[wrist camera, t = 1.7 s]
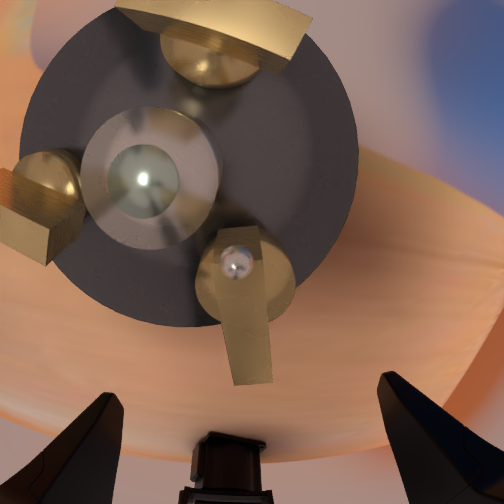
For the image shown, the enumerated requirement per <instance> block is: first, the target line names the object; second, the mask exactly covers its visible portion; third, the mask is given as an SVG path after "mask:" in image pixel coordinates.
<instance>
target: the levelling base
mask: <svg viewBox="0 0 504 504" xmlns="http://www.w3.org/2000/svg"><path fill="white" fill-rule="evenodd" d="M312 19H313V18H311V17H309V16H307V15H305V14H303V13H301V12H299V11H296V10H294V9H292V8H290V7H287V6H285V5H283V4H280V3H278V2H275V1H272V0H117V2H116V3H115V5H114V8H112V9H110V10H108V11H107V12H105V13H103V14H101V15H100V16H98V17H97V18H96V19H94V20H93V21H91V22H90V23H88V24H87V25H86V26H84V27H83V28H82V29H81V30H80V31H79V32H78V33H76V34H75V35H74V36H73V37H72V38H71V39H70V40H69V41H68V42H67V43H66V44H65V45H64V46H63V47H62V49H61V50H60V51H59V52H58V53H57V55H56V56H55V57H54V58H53V60H52V61H51V62H50V64H49V66H48V67H47V69H46V70H45V72H44V73H43V75H42V76H41V78H40V80H39V82H38V84H37V86H36V88H35V91H34V93H33V95H32V97H31V100H30V103H29V106H28V109H27V112H26V115H25V118H24V123H23V128H22V133H21V139H20V153H19V162H18V163H17V165H16V166H15V168H14V169H13V171H10V170H7V169H5V168H1V169H0V242H2V243H4V244H5V245H7V246H9V247H11V248H12V249H14V250H16V251H18V252H20V253H21V254H23V255H25V256H27V257H29V258H31V259H32V260H34V261H36V262H38V263H40V264H42V265H44V266H47V265H48V264H49V263H50V262H51V261H52V260H53V262H54V263H55V264H56V265H57V267H58V268H59V269H60V270H61V271H62V272H63V273H64V274H65V276H66V277H67V278H68V279H69V280H70V281H71V282H72V283H73V284H75V285H76V286H77V287H78V288H79V289H81V290H82V291H83V292H84V293H86V294H87V295H88V296H90V297H91V298H93V299H94V300H96V301H97V302H99V303H101V304H102V305H104V306H106V307H108V308H110V309H112V310H114V311H116V312H118V313H120V314H123V315H125V316H128V317H131V318H134V319H136V320H140V321H144V322H148V323H152V324H156V325H164V326H172V327H201V326H210V325H218V324H222V323H221V322H220V321H218V320H216V319H215V318H213V317H212V316H211V315H209V314H208V313H207V312H206V311H205V309H204V308H203V307H202V305H201V304H200V302H199V300H198V298H197V295H196V290H195V279H196V274H197V270H198V267H199V263H200V260H201V256H202V253H203V251H204V249H205V247H206V246H207V244H208V243H209V242H210V241H211V240H212V239H213V238H214V237H215V236H217V233H218V229H225V228H235V227H245V226H255V225H258V228H259V229H262V230H265V231H267V232H269V233H271V234H272V235H274V236H275V237H276V238H277V239H278V240H279V241H280V242H281V243H282V244H283V246H284V247H285V249H286V251H287V253H288V256H289V259H290V262H291V265H292V268H293V272H294V275H295V282H296V285H295V288H296V287H297V286H299V285H300V284H301V283H302V282H303V281H304V280H305V279H307V278H308V277H309V276H310V274H311V273H312V272H313V271H314V270H315V269H316V268H317V266H318V265H319V264H320V263H321V262H322V261H323V259H324V258H325V256H326V255H327V254H328V252H329V251H330V249H331V248H332V246H333V245H334V243H335V242H336V240H337V238H338V236H339V234H340V232H341V229H342V227H343V225H344V223H345V221H346V219H347V216H348V213H349V210H350V207H351V204H352V201H353V197H354V192H355V187H356V181H357V176H358V155H359V149H358V139H357V129H356V124H355V119H354V115H353V111H352V108H351V104H350V101H349V98H348V96H347V93H346V91H345V89H344V86H343V84H342V82H341V79H340V78H339V76H338V74H337V72H336V71H335V69H334V68H333V66H332V64H331V63H330V61H329V60H328V58H327V57H326V55H325V54H324V53H323V52H322V51H321V49H320V48H319V47H318V46H317V45H316V44H315V42H314V41H313V40H312V39H311V38H310V37H309V36H308V35H307V34H306V33H305V32H306V30H307V28H308V27H309V25H310V23H311V21H312Z"/></svg>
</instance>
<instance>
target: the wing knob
mask: <svg viewBox="0 0 504 504" xmlns="http://www.w3.org/2000/svg"><path fill="white" fill-rule="evenodd" d="M295 285H296V282H295V275H294V272H293V268H292V265H291V262H290V259H289V256H288V253H287V251H286V249H285V247H284V246H283V244H282V243H281V242H280V241H279V240H278V239H277V238H276V237H275V236H274V235H272V234H271V233H269V232H267V231H265V230H262V229H259V228H258V225H255V226H245V227H235V228H225V229H218V233H217V236H215V237H214V238H213V239H212V240H211V241H210V242H209V243H208V244H207V246H206V247H205V249H204V251H203V253H202V256H201V260H200V263H199V267H198V270H197V274H196V279H195V290H196V295H197V298H198V300H199V302H200V304H201V305H202V307H203V308H204V309H205V311H206V312H207V313H208V314H209V315H211V316H212V317H213V318H215V319H216V320H218V321H220V322H221V323H222V329H223V334H224V339H225V344H226V349H227V354H228V359H229V363H230V368H231V373H232V378H233V382H234V386H236V385H251V384H263V383H273V378H272V365H271V352H270V339H269V327H268V322H270V321H272V320H274V319H276V318H277V317H278V316H280V315H281V314H282V313H283V312H284V311H285V310H286V309H287V307H288V306H289V305H290V303H291V301H292V299H293V296H294V293H295Z"/></svg>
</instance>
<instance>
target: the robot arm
mask: <svg viewBox="0 0 504 504" xmlns="http://www.w3.org/2000/svg"><path fill="white" fill-rule="evenodd" d="M377 395H378V399H379V404H380V408H381V412H382V417H383V421H384V426H385V430H386V433H387V436H388V439H389V442H390V445H391V448H392V451H393V454H394V457H395V460H396V463H397V466H398V469H399V472H400V475H401V478H402V481H403V485H404V488H405V491H406V494H407V498H408V501H409V504H504V451H502V450H500V449H499V448H497V447H495V446H493V445H492V444H490V443H488V442H487V441H485V440H484V439H482V438H481V437H479V436H478V435H477V434H475V433H474V432H472V431H471V430H470V429H468V428H467V427H466V426H464V425H463V424H462V423H460V422H459V421H458V420H456V419H455V418H454V417H453V416H451V415H450V414H449V413H447V412H446V411H445V410H444V409H442V408H441V407H440V406H438V405H437V404H436V403H435V402H433V401H432V400H431V399H429V398H428V397H427V396H426V395H424V394H423V393H422V392H420V391H419V390H418V389H417V388H415V387H414V386H413V385H411V384H410V383H409V382H407V381H406V380H405V379H404V378H402V377H401V376H400V375H398V374H397V373H396V372H394V371H389V372H384V373H382V374H381V377H380V380H379V384H378V387H377ZM123 418H124V408H123V406H122V404H121V403H120V401H119V399H118V398H117V396H116V395H115V394H114V393H110V392H104V393H102V394H101V395H100V396H99V397H98V398H97V399H96V400H95V401H94V402H93V403H91V404H90V405H89V406H88V407H87V408H86V409H85V410H84V411H83V412H82V413H81V414H80V415H79V416H78V417H77V418H76V419H75V420H74V421H73V422H72V423H71V424H70V425H69V426H68V427H67V428H65V429H64V430H63V431H62V432H61V433H60V434H59V435H58V436H57V437H56V438H55V439H54V440H53V441H52V442H51V443H50V444H49V445H48V446H47V447H46V448H45V449H44V450H43V451H42V452H40V453H39V454H38V455H37V456H36V457H35V458H34V459H33V460H32V461H31V462H30V463H29V464H28V465H26V466H25V467H24V468H23V469H21V470H20V471H19V472H17V473H16V474H15V475H14V476H12V477H11V478H9V479H8V480H7V481H5V482H4V483H3V484H1V485H0V504H112V498H113V491H114V485H115V478H116V472H117V467H118V461H119V456H120V450H121V442H122V429H123ZM265 448H266V443H264V442H258V441H252V440H247V439H241V438H236V437H232V436H227V435H222V434H218V433H209V434H208V435H207V436H206V438H205V439H204V440H203V441H202V442H201V443H199V444H198V445H197V447H196V448H195V449H194V450H193V455H192V465H191V475H190V480H191V481H192V482H195V488H190V487H187V486H185V488H184V490H181V491H180V493H179V502H178V504H193V503H194V504H274V501H273V496H272V490H266V491H262V485H261V467H260V453H261V452H262V451H263V450H264V449H265Z"/></svg>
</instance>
